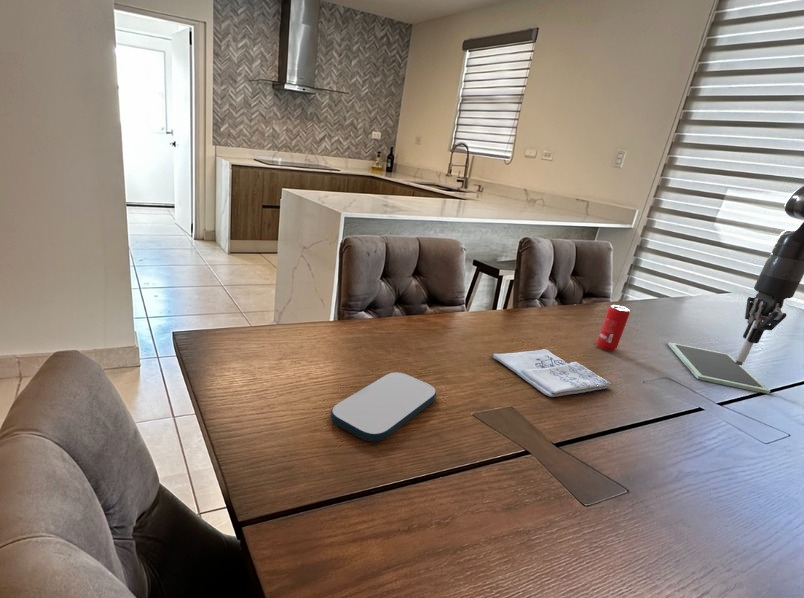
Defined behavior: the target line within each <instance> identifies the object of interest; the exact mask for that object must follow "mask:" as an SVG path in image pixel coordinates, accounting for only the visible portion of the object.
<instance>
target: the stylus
mask: <svg viewBox="0 0 804 598" xmlns="http://www.w3.org/2000/svg"><path fill="white" fill-rule="evenodd" d="M755 322H756V320H754V322H753V324H752V326H751V328H750V331H749V333H748V335H747V337H746V339H745V338H744V341H743V343H742V345H741V347H740V350H739V352H738V353H737V355H736V358H735V360H736V363H735V364H737V365H742V366H743V364H744V363H745V361H746V359H747V358H748V356H749V353H750V352H751V349H752V347H753V345H754V343H750V342H748V341H747V339H748V337H749V335H750V333H751V331H752V329H753V328H754V324H755Z"/></svg>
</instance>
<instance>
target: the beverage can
mask: <svg viewBox="0 0 804 598" xmlns="http://www.w3.org/2000/svg"><path fill="white" fill-rule="evenodd" d="M629 316H630V309H629V308H628V307H626V306H623V305H618V304H610V307H608V309H607V312H606V315H605V318H604V321H603V324H602V326H601V329H600V332H599V335H598V337H597V340H596V343H597V347H598V348H599V349H601V350H604V351H608V352H614V351H615V350H616V349H617V348H618V346H619V343H620V341H621V338H622V335H623V332H624V330H625V327H626V325H627V322H628V318H629Z"/></svg>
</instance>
